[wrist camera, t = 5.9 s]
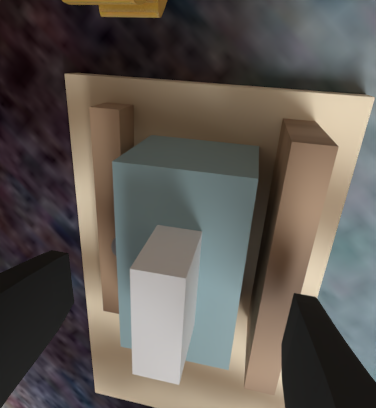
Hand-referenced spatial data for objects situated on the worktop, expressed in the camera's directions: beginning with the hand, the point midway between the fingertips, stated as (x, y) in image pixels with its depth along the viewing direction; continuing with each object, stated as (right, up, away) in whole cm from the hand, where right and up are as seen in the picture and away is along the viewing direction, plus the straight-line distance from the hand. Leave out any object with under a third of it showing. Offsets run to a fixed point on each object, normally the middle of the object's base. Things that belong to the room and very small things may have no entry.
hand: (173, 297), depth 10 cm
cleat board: (+1, -1, +7) cm, 7 cm away
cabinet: (+1, +2, +5) cm, 5 cm away
